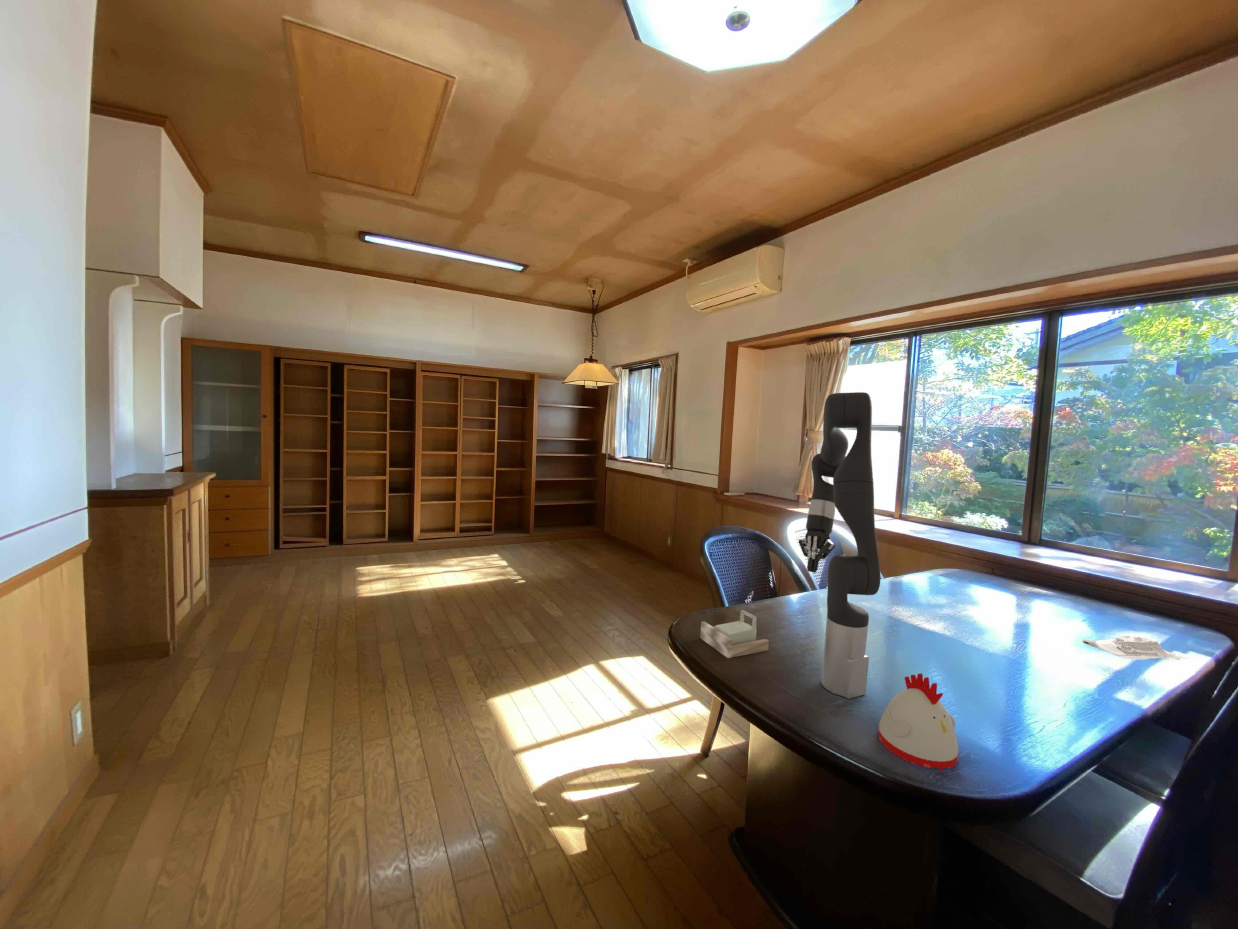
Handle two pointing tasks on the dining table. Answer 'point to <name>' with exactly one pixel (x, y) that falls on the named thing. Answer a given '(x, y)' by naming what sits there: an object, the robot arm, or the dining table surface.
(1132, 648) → the terrain model
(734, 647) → the birch bay
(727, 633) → the sage trolley
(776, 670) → the dining table surface
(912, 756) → the kitchen timer
